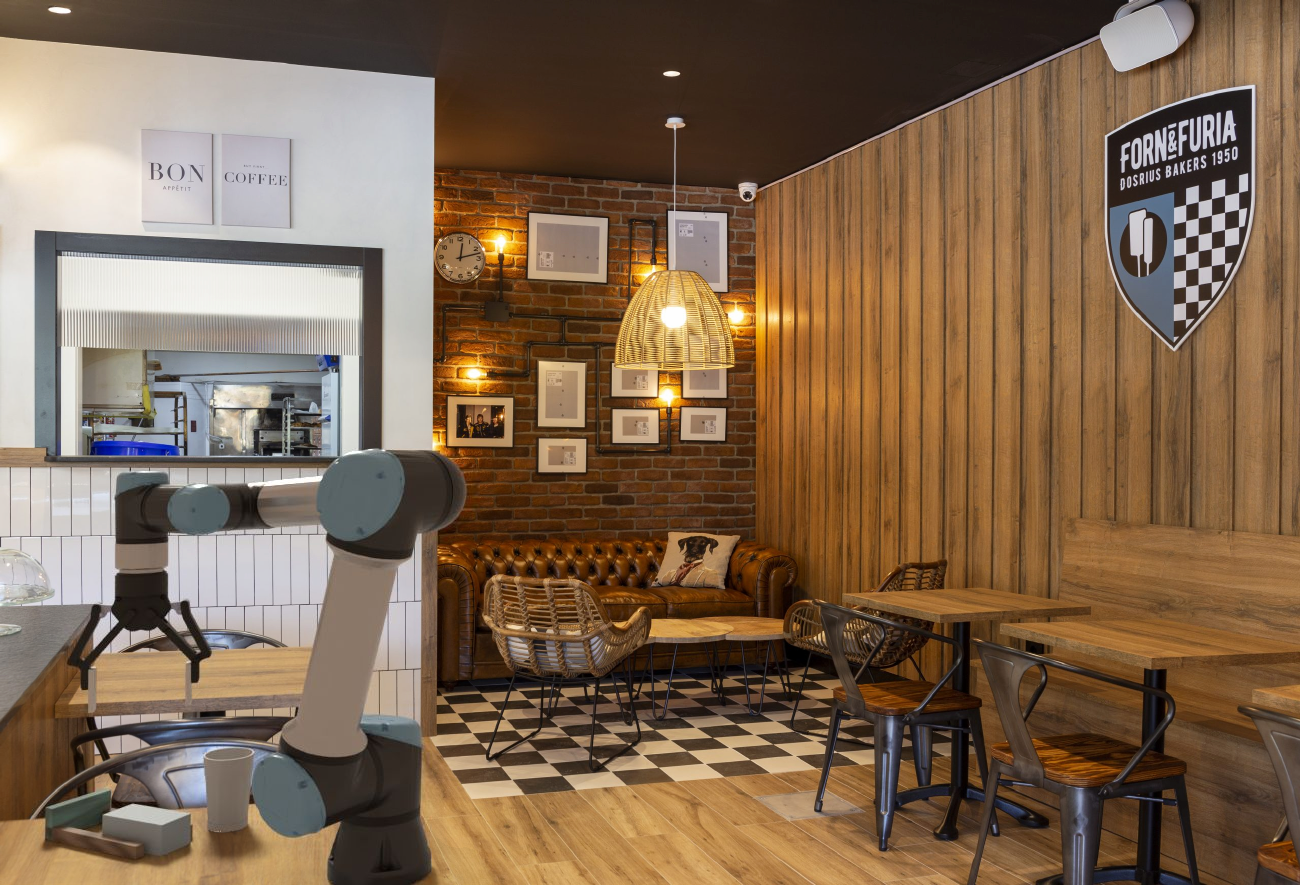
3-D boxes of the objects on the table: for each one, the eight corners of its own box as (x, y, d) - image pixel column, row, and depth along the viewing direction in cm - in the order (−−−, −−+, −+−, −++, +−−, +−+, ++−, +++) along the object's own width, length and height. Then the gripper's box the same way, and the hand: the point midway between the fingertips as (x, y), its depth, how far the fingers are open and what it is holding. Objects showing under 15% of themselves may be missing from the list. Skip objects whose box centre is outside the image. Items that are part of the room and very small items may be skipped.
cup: (203, 820, 184) (205, 748, 185) (254, 816, 187) (255, 745, 187) (199, 836, 177) (201, 762, 177) (251, 831, 179) (253, 758, 179)
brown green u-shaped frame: (192, 837, 176) (193, 806, 176) (135, 859, 166) (136, 827, 166) (104, 818, 184) (104, 788, 184) (44, 839, 174) (45, 807, 174)
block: (190, 845, 174) (190, 813, 174) (161, 857, 168) (161, 825, 168) (132, 834, 178) (132, 803, 178) (101, 846, 172) (102, 814, 172)
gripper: (228, 565, 177) (228, 696, 177) (56, 571, 169) (55, 708, 168) (226, 569, 170) (226, 706, 169) (46, 575, 162) (45, 719, 161)
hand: (141, 708), depth 169 cm, fingers open, 13 cm apart
